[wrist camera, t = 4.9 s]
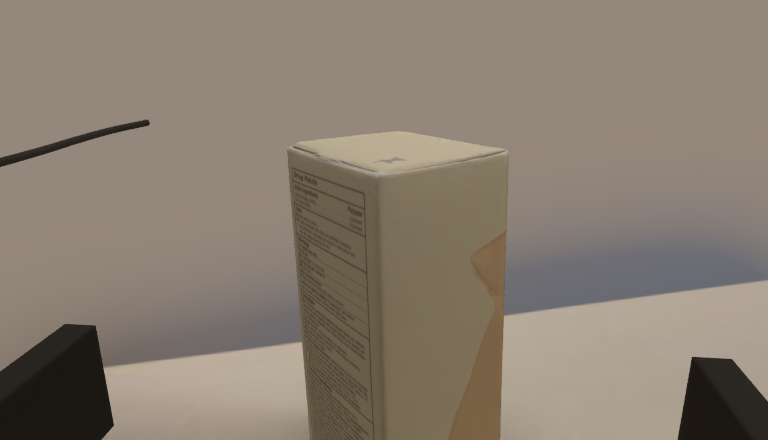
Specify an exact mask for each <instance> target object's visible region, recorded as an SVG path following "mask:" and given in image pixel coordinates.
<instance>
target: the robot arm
mask: <svg viewBox="0 0 768 440" xmlns="http://www.w3.org/2000/svg"><path fill="white" fill-rule="evenodd" d="M149 124H150V123H149V121H148V120H143V121H139V122H133V123H128V124H123V125H118V126H114V127H110V128H105V129H101V130H98V131H94V132H90V133H87V134H84V135H80V136H76V137H73V138H69V139H66V140H63V141H59V142H56V143H53V144H50V145H46V146H42V147H39V148H35V149H32V150H28V151H24V152H21V153H17V154H14V155H9V156H6V157H2V158H0V167H1V166H5V165H8V164H12V163H16V162H19V161H23V160H26V159H29V158H33V157H36V156H40V155H43V154H46V153H49V152H53V151H56V150H59V149H62V148H65V147H68V146H71V145H74V144H78V143H81V142H84V141H87V140H91V139H94V138H98V137H101V136H105V135H109V134H112V133H116V132H120V131H125V130H130V129H134V128H139V127H144V126H148V125H149ZM113 426H114V423H113V418H112V412H111V407H110V401H109V396H108V391H107V385H106V380H105V374H104V369H103V364H102V358H101V353H100V347H99V342H98V336H97V331H96V326H93V325H73V324H65V325H63V326H62V327H60V328H59V329H58V330H56V331H55V332H54V333H52V334H51V335H49V336H48V337H47V338H45V339H44V340H43V341H41V342H40V343H39V344H37V345H36V346H35V347H33V348H32V349H30V350H29V351H28V352H26V353H25V354H24V355H22V356H21V357H20V358H18V359H17V360H16V361H14V362H13V363H11V364H10V365H9V366H7V367H6V368H5V369H3V370H2V371H1V372H0V440H102V438H103V437H104V436H105V435H106V434H107V433H108V432H109V431H110V429H111V428H112V427H113ZM678 440H768V401H767V400H766V399H765V398H764V397H763V395H762V394H761V393H760V392H759V391H758V390H757V388H756V387H755V386H754V385H753V384H752V382H751V381H750V380H749V379H748V378H747V376H746V375H745V374H744V373H743V372H742V371H741V369H740V368H739V367H738V366H737V365H736V363H735V362H734V361H733V360H732V359H720V358H701V357H692V360H691V366H690V372H689V378H688V383H687V389H686V395H685V401H684V406H683V412H682V418H681V424H680V429H679V435H678Z"/></svg>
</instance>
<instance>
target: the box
mask: <svg viewBox="0 0 768 440" xmlns="http://www.w3.org/2000/svg"><path fill="white" fill-rule="evenodd" d="M287 154H288V168H289V180H290V194H291V206H292V218H293V230H294V245H295V256H296V267H297V280H298V293H299V306H300V319H301V331H302V345H303V357H304V370H305V381H306V394H307V404H308V418H309V431H310V440H500V417H501V385H502V349H503V326H504V289H505V254H506V251H505V250H506V225H507V194H508V193H507V192H508V164H509V152H508V151H507V150H505V149H501V148H495V147H488V146H482V145H477V144H471V143H465V142H460V141H454V140H448V139H442V138H437V137H431V136H426V135H421V134H416V133H411V132H405V131H397V132H384V133H375V134H366V135H357V136H348V137H339V138H329V139H320V140H312V141H303V142H298V143H296V144H294V145H293V146H290V147H288V150H287Z"/></svg>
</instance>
